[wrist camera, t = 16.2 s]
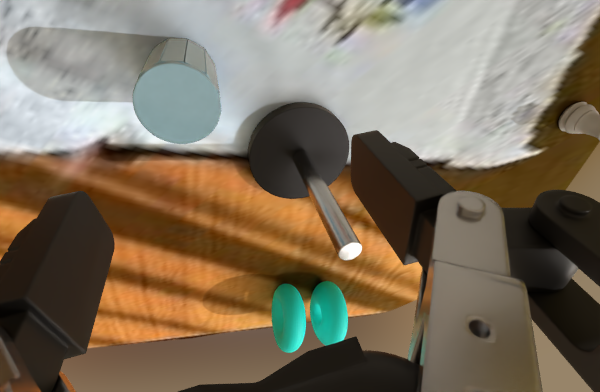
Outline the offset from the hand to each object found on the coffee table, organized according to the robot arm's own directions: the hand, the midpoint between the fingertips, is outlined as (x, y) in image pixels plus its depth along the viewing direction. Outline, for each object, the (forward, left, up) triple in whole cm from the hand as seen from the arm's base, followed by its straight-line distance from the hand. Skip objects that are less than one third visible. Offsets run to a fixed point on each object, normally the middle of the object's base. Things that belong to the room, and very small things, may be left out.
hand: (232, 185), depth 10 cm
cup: (-1, -4, -24) cm, 25 cm away
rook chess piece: (+48, +17, -25) cm, 56 cm away
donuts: (+29, -28, -25) cm, 47 cm away
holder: (+14, -6, -24) cm, 29 cm away
